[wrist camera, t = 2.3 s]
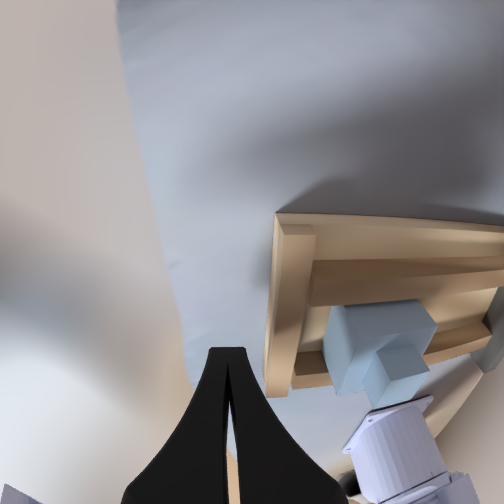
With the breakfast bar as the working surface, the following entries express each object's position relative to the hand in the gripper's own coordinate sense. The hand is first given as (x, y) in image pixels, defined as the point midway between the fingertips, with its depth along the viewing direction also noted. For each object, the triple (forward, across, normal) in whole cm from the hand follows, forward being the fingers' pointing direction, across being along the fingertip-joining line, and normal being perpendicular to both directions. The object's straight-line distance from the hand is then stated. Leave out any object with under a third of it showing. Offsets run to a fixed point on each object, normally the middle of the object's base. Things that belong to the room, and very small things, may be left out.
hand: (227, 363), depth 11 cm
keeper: (+2, -7, 0) cm, 7 cm away
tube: (+4, -23, +46) cm, 51 cm away
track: (+4, -11, 0) cm, 12 cm away
